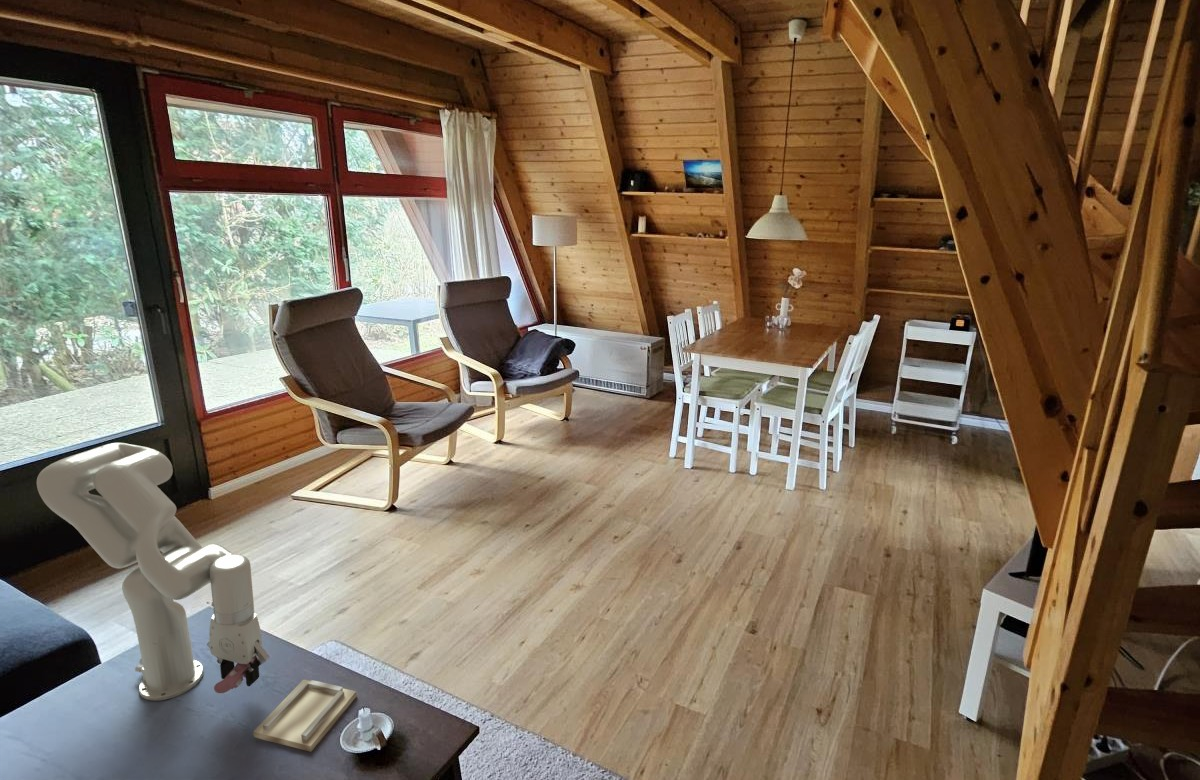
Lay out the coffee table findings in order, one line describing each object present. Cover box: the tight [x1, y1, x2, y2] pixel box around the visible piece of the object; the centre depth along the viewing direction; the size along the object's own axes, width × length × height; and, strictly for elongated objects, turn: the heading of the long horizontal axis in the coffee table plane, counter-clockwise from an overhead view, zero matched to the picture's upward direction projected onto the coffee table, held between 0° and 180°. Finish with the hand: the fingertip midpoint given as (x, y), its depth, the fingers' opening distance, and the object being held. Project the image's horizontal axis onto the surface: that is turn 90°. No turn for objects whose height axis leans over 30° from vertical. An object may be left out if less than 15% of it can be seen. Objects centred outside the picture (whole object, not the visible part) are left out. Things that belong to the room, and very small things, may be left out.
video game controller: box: [213, 659, 254, 694], centre depth 140 cm, size 10×5×7 cm
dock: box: [252, 679, 357, 753], centre depth 139 cm, size 14×16×3 cm
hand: (240, 677), depth 140 cm, fingers closed on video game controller, 5 cm apart
